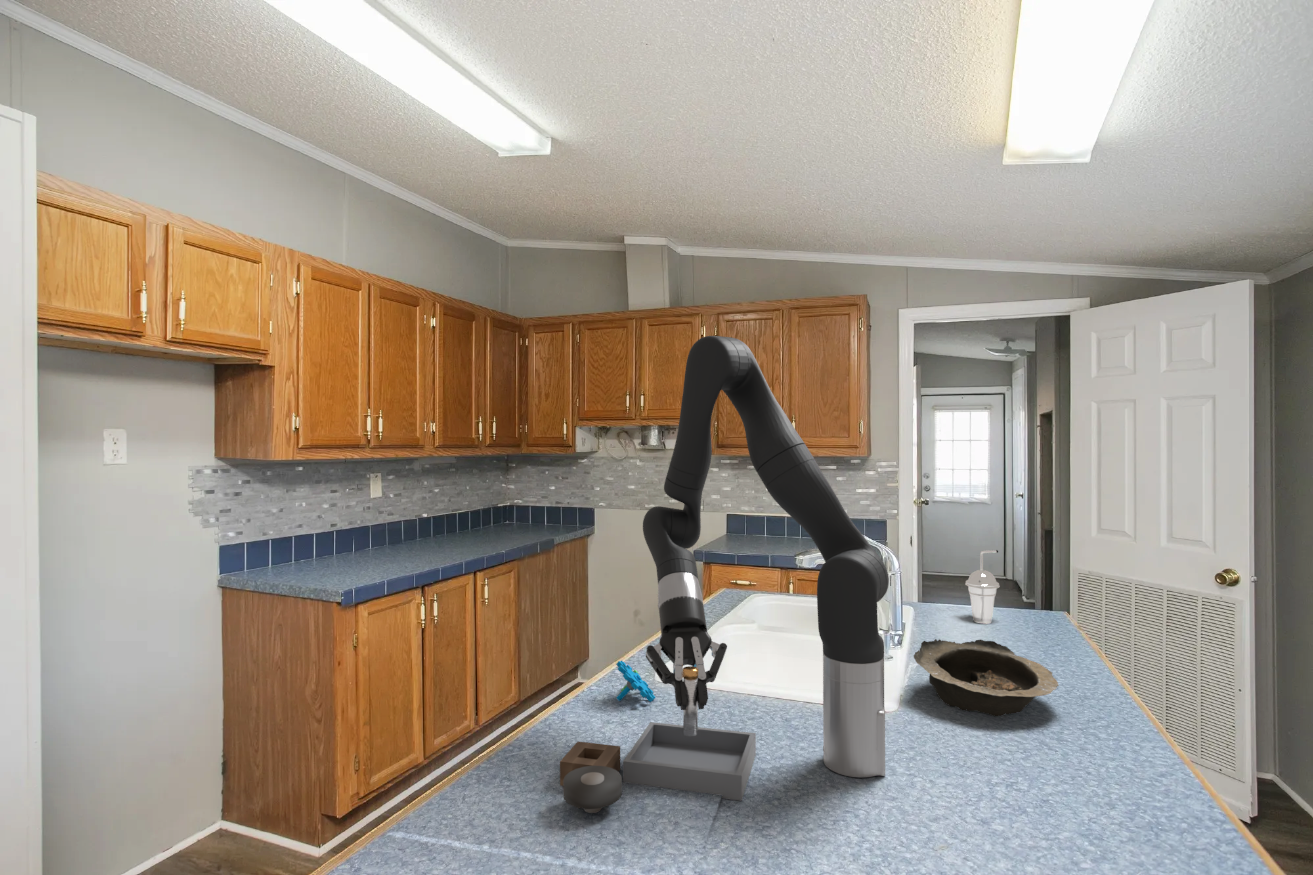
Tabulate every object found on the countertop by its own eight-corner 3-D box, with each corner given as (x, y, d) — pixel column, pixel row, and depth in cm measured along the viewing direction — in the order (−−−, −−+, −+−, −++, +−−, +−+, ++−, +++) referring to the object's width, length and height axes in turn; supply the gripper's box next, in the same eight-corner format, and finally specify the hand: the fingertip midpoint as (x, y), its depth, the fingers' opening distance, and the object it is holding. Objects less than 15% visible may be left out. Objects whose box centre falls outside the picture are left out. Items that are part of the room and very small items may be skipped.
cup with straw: (992, 617, 198) (992, 544, 197) (1005, 626, 189) (1005, 550, 188) (960, 617, 198) (960, 544, 198) (971, 626, 189) (971, 550, 189)
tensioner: (644, 775, 110) (644, 744, 110) (610, 831, 95) (610, 795, 94) (577, 766, 113) (577, 736, 113) (534, 819, 97) (534, 785, 97)
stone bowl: (919, 670, 155) (922, 628, 154) (1051, 697, 144) (1055, 652, 144) (904, 710, 132) (908, 660, 132) (1059, 746, 122) (1064, 691, 121)
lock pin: (699, 730, 112) (699, 667, 112) (696, 737, 110) (696, 672, 110) (684, 729, 113) (684, 665, 113) (681, 735, 111) (681, 670, 110)
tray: (755, 755, 116) (755, 733, 116) (741, 800, 102) (741, 775, 102) (650, 743, 121) (650, 722, 121) (623, 785, 107) (623, 761, 107)
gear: (657, 701, 135) (619, 663, 136) (635, 725, 134) (597, 686, 135) (658, 688, 146) (623, 652, 147) (637, 710, 145) (602, 674, 146)
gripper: (641, 595, 118) (649, 698, 106) (724, 593, 119) (741, 694, 107) (638, 619, 123) (645, 719, 111) (718, 616, 125) (733, 715, 113)
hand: (692, 707), depth 109 cm, fingers closed on lock pin, 2 cm apart
